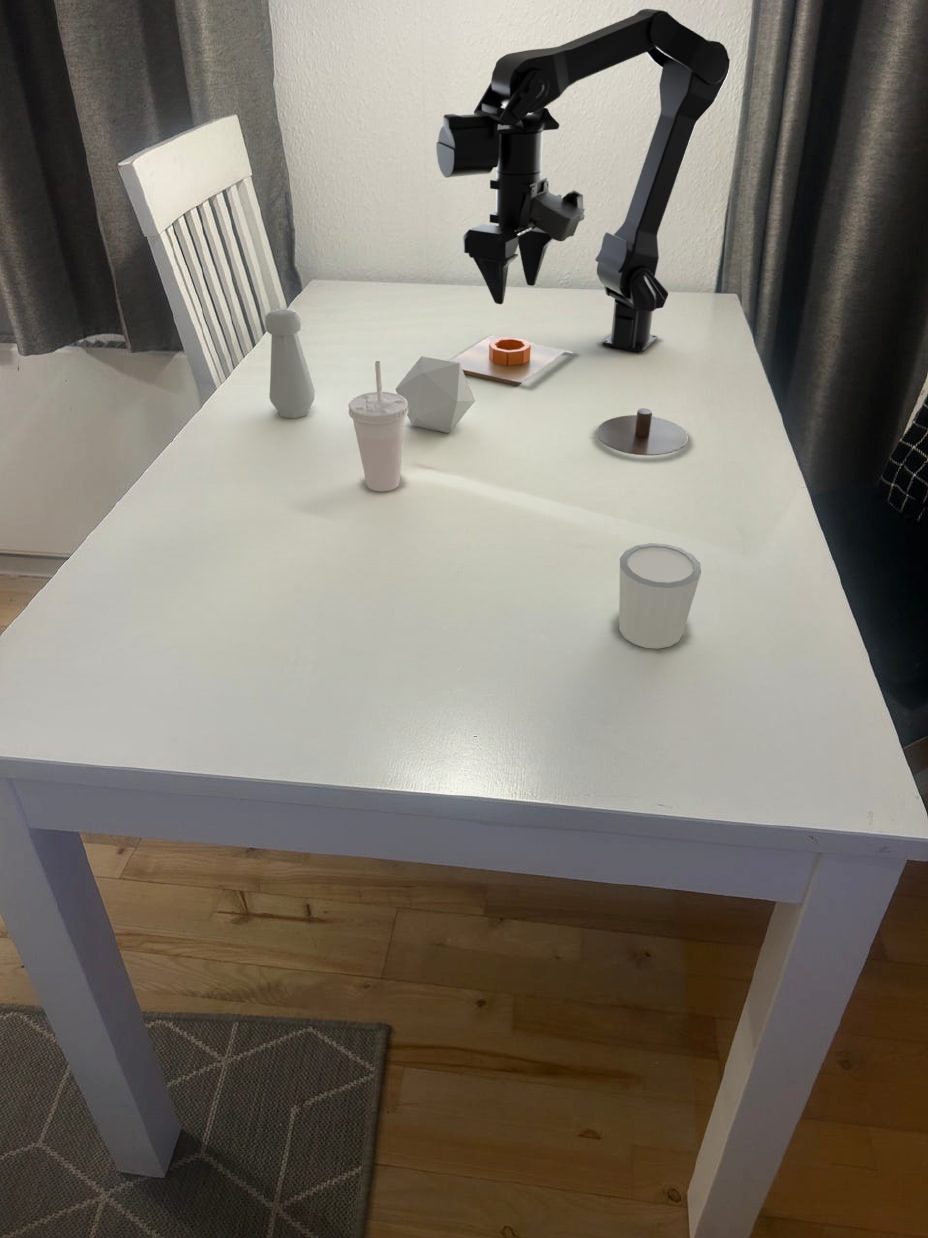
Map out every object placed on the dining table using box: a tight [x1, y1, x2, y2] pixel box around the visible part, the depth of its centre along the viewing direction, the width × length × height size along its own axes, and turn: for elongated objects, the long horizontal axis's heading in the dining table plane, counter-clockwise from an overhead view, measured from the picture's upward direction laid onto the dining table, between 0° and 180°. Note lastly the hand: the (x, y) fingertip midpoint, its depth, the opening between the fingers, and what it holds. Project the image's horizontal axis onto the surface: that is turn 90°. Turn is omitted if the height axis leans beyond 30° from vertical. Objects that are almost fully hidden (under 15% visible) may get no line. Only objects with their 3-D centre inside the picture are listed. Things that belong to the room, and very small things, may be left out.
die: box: [395, 356, 476, 434], centre depth 113 cm, size 8×9×10 cm
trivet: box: [449, 334, 575, 387], centre depth 132 cm, size 14×14×1 cm
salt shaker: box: [264, 308, 316, 420], centre depth 115 cm, size 6×6×13 cm
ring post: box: [596, 407, 689, 456], centre depth 110 cm, size 11×11×4 cm
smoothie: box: [348, 360, 408, 493], centre depth 99 cm, size 6×6×14 cm
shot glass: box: [618, 542, 702, 650], centre depth 79 cm, size 7×7×7 cm
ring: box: [489, 337, 531, 366], centre depth 131 cm, size 6×6×2 cm
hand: (515, 294), depth 126 cm, fingers open, 9 cm apart
